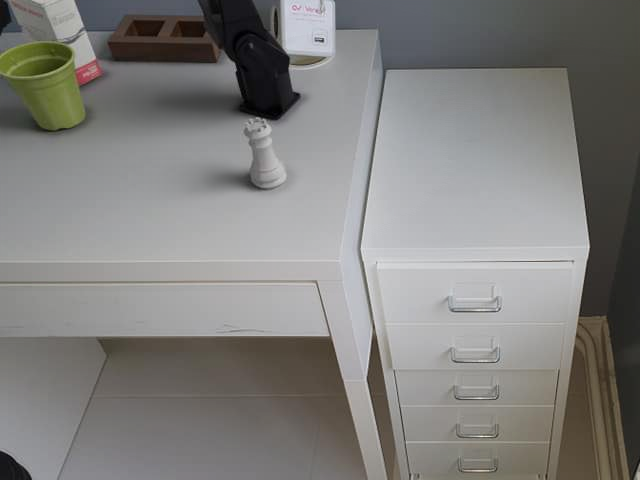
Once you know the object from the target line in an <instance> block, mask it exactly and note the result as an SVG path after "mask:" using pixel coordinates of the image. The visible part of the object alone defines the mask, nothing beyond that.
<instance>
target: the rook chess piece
mask: <svg viewBox="0 0 640 480" xmlns="http://www.w3.org/2000/svg"><path fill="white" fill-rule="evenodd" d="M247 120H248V121H245V122H244V126H245V128H243V129H244V130H243V135H244V136H245V137H246V138H248V139H249V140H248V143H247V144H248V146H250V148H251V153H252V154H251V155H252V161H251V165H250V168H249V174H250V180H251V182H252V184H254V185H255V186H256V187H258V188H260V189H264V190H272V189H276V188H278V187H279V186H282V184H283V183H284V182H285V181H286V180H287V176H288V173H287V170H286V167H285V165H284V163H283V162H282V161H281V159H280V158H279V157H277V155H276V153H275V151H274V148H273V145H272V143H273V138H272V137H271V136H270V134H271V133H272V131H273V128H272V126H271V125H269V124H268V122H267V120H266V118H262V119H261V117H257V116H256V117H255V120H254V119H253V118H249V119H247Z"/></svg>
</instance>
